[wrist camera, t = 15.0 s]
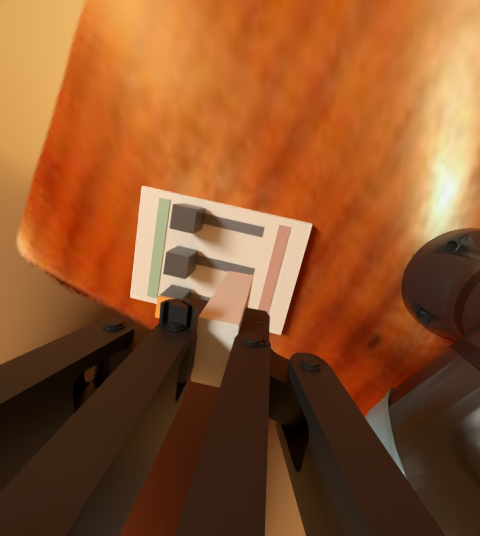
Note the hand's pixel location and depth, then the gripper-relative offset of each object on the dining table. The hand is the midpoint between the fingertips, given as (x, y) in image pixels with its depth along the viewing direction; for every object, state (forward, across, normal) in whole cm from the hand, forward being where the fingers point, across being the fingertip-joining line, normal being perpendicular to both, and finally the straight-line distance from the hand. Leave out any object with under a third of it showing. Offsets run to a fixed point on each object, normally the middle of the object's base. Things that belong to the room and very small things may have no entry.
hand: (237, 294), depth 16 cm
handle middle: (+21, +10, +4) cm, 24 cm away
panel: (+24, +6, +4) cm, 25 cm away
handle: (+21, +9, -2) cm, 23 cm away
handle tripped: (+21, +10, +10) cm, 26 cm away
